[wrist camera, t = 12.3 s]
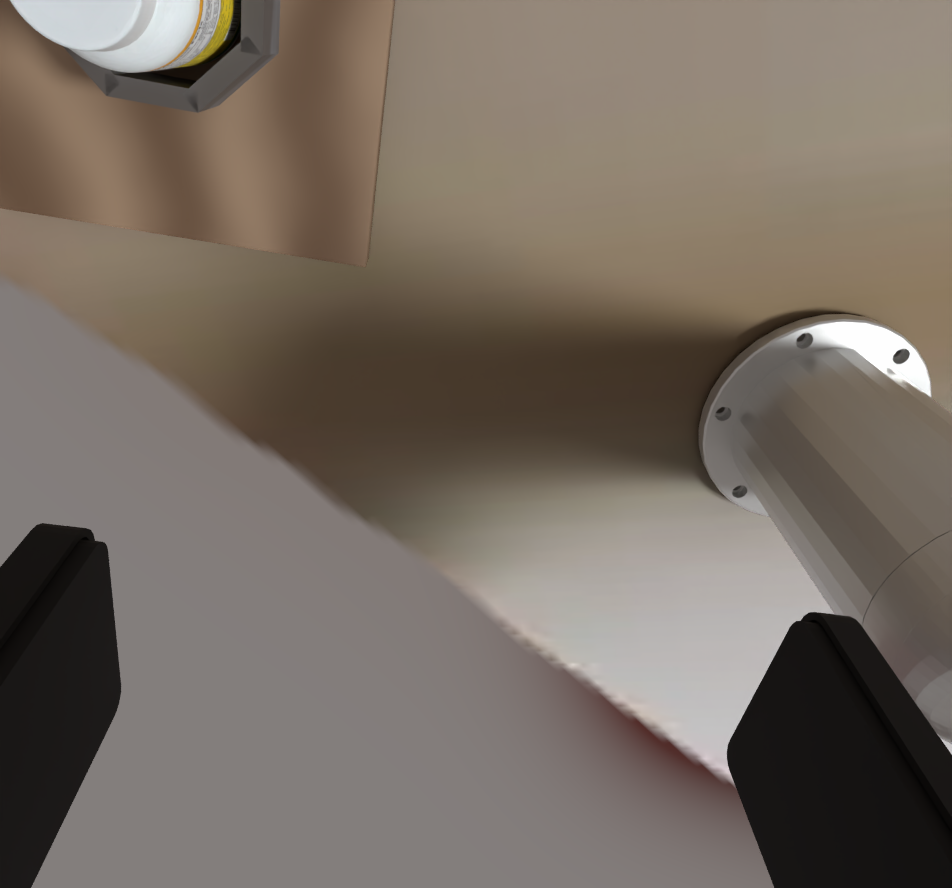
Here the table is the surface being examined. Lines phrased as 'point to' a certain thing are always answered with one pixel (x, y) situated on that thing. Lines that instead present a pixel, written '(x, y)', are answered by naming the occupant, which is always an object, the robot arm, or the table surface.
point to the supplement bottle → (138, 30)
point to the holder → (208, 132)
